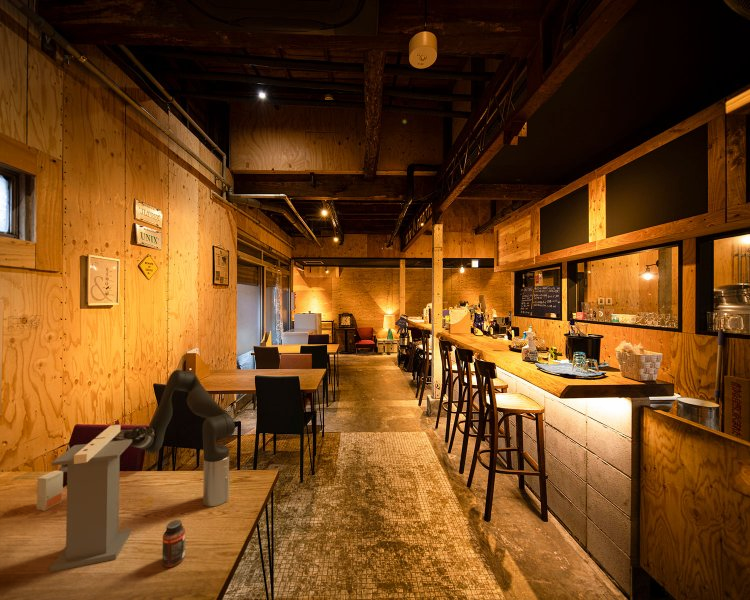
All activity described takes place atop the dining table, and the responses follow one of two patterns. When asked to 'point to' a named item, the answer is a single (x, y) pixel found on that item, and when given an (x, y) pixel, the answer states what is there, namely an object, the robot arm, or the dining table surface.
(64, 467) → the mate gourd
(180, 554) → the supplement bottle
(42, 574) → the dining table surface
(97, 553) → the gray lectern stand
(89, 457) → the white long bar
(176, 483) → the dining table surface
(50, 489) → the skincare box
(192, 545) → the dining table surface
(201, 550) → the dining table surface
